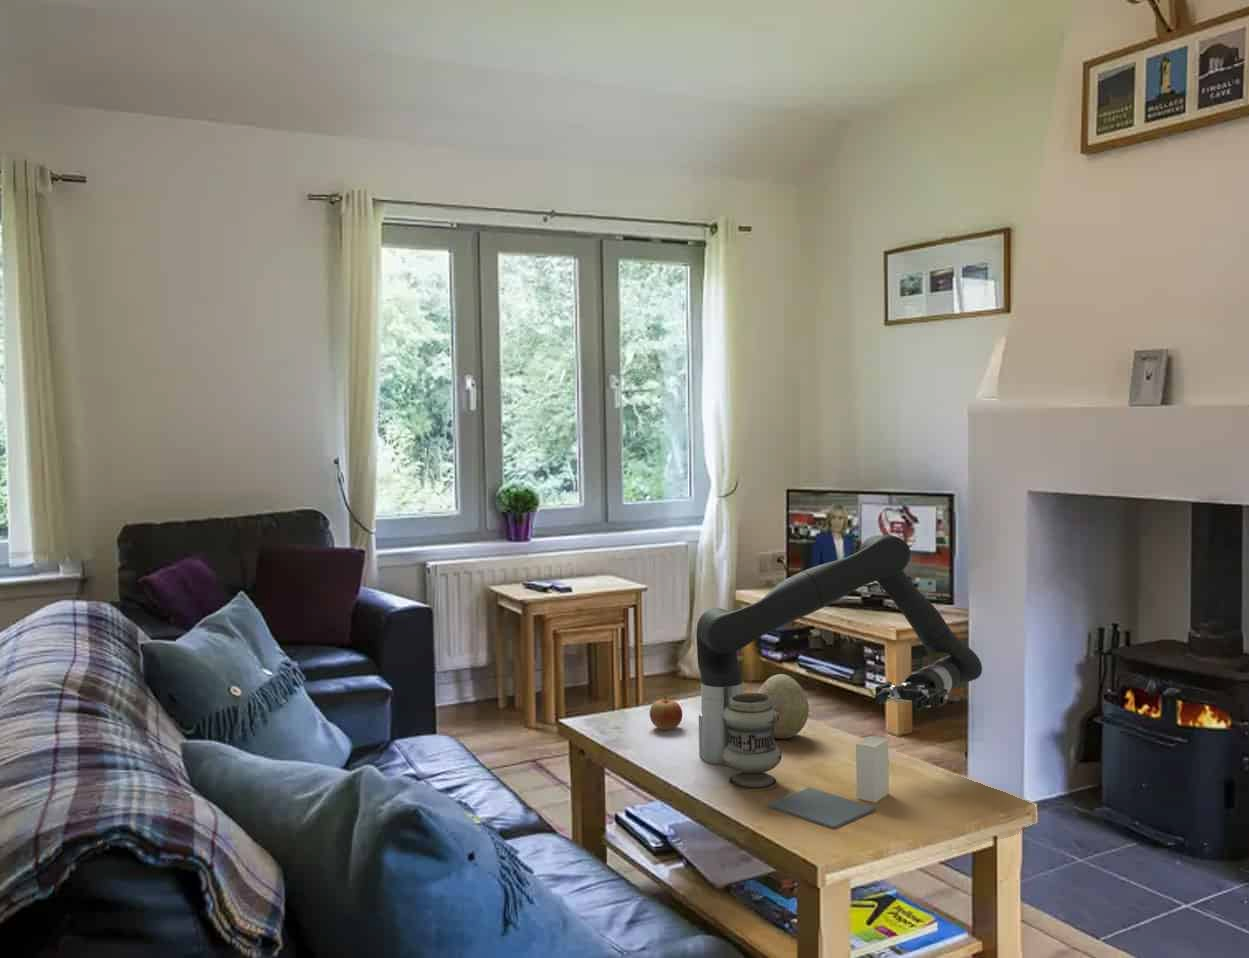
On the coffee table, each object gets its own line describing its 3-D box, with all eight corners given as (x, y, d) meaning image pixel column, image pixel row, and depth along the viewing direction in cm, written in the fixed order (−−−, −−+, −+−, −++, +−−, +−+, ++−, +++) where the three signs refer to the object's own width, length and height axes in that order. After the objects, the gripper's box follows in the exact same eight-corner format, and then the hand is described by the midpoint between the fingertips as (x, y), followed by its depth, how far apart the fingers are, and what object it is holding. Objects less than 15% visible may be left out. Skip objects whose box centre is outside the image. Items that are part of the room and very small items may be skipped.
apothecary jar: (713, 778, 221) (711, 694, 220) (762, 769, 226) (761, 686, 225) (741, 796, 210) (739, 707, 209) (793, 787, 215) (791, 700, 214)
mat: (767, 806, 205) (767, 803, 205) (809, 789, 213) (809, 787, 213) (833, 828, 193) (833, 826, 193) (875, 810, 201) (875, 807, 201)
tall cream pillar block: (856, 798, 208) (856, 743, 207) (870, 789, 212) (869, 735, 212) (875, 802, 205) (874, 747, 205) (888, 793, 210) (888, 739, 209)
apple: (647, 724, 262) (647, 693, 261) (679, 723, 263) (678, 691, 262) (652, 734, 254) (651, 701, 253) (684, 732, 255) (684, 699, 254)
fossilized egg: (743, 736, 250) (742, 673, 250) (783, 726, 257) (782, 665, 257) (779, 749, 240) (778, 684, 239) (820, 738, 247) (819, 675, 246)
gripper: (897, 664, 233) (864, 680, 221) (960, 671, 225) (929, 689, 212) (898, 697, 234) (865, 715, 221) (961, 706, 225) (930, 725, 212)
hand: (896, 702), depth 217 cm, fingers open, 8 cm apart
